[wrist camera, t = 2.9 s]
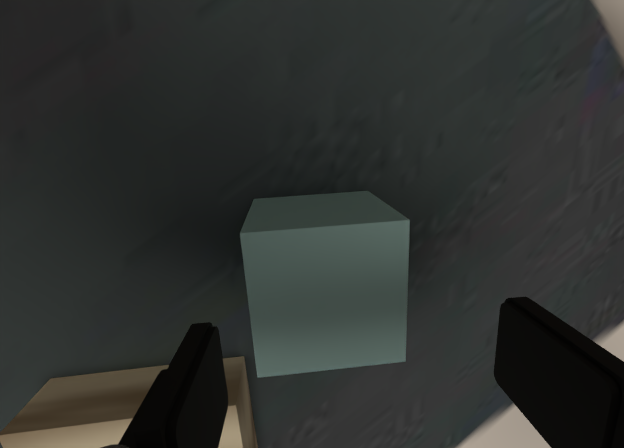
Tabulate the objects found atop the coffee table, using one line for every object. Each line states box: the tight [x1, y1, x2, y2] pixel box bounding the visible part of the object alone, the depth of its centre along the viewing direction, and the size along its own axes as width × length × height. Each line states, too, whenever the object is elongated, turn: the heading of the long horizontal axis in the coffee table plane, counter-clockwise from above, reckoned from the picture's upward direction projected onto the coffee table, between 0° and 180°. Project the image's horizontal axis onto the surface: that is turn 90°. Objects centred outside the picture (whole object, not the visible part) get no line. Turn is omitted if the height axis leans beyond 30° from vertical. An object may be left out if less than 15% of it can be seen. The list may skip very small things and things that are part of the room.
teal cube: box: [240, 191, 410, 378], centre depth 15 cm, size 6×6×6 cm
